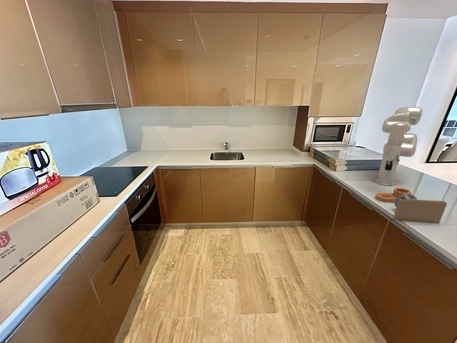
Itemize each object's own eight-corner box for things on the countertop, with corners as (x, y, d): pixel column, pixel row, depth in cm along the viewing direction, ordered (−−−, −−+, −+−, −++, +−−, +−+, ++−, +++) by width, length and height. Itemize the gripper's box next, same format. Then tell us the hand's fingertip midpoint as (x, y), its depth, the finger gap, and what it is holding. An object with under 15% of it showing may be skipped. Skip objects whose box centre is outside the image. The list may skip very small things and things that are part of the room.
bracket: (402, 197, 128) (405, 187, 125) (411, 203, 120) (414, 193, 118) (372, 196, 131) (374, 187, 128) (379, 202, 123) (382, 192, 120)
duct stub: (383, 208, 116) (388, 190, 112) (422, 210, 112) (429, 192, 108) (395, 220, 105) (401, 200, 101) (439, 223, 101) (447, 203, 97)
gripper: (381, 140, 130) (375, 166, 136) (395, 145, 116) (387, 173, 123) (394, 140, 129) (388, 166, 135) (409, 145, 115) (401, 174, 121)
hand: (387, 169), depth 129 cm, fingers closed
